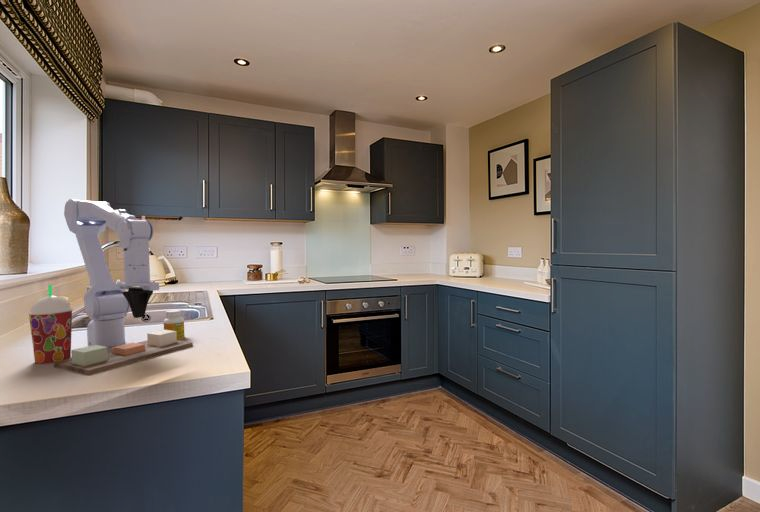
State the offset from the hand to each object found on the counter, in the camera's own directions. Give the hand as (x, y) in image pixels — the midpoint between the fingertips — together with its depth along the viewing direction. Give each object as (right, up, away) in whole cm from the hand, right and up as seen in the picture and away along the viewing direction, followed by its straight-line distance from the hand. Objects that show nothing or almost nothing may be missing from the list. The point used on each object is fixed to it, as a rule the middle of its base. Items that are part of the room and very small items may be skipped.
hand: (139, 317), depth 105 cm
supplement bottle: (+2, -10, +14) cm, 17 cm away
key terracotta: (0, -11, -4) cm, 11 cm away
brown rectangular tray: (0, -11, -4) cm, 11 cm away
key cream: (+4, -9, +4) cm, 10 cm away
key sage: (-4, -9, -12) cm, 16 cm away
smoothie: (-17, -11, -7) cm, 21 cm away
